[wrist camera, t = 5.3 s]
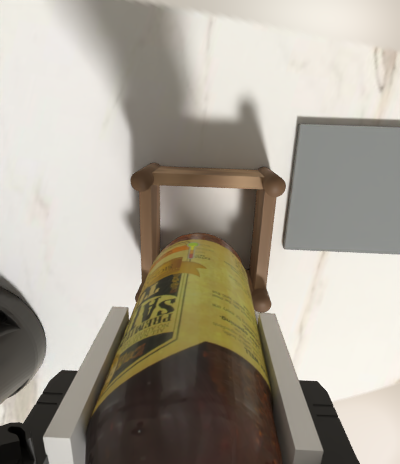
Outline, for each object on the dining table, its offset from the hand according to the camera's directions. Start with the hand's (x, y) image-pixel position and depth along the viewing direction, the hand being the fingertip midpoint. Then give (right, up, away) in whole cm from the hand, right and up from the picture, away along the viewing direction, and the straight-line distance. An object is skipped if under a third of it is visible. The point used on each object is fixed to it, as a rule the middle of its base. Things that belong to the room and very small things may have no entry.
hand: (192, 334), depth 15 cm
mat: (+15, +9, +15) cm, 23 cm away
